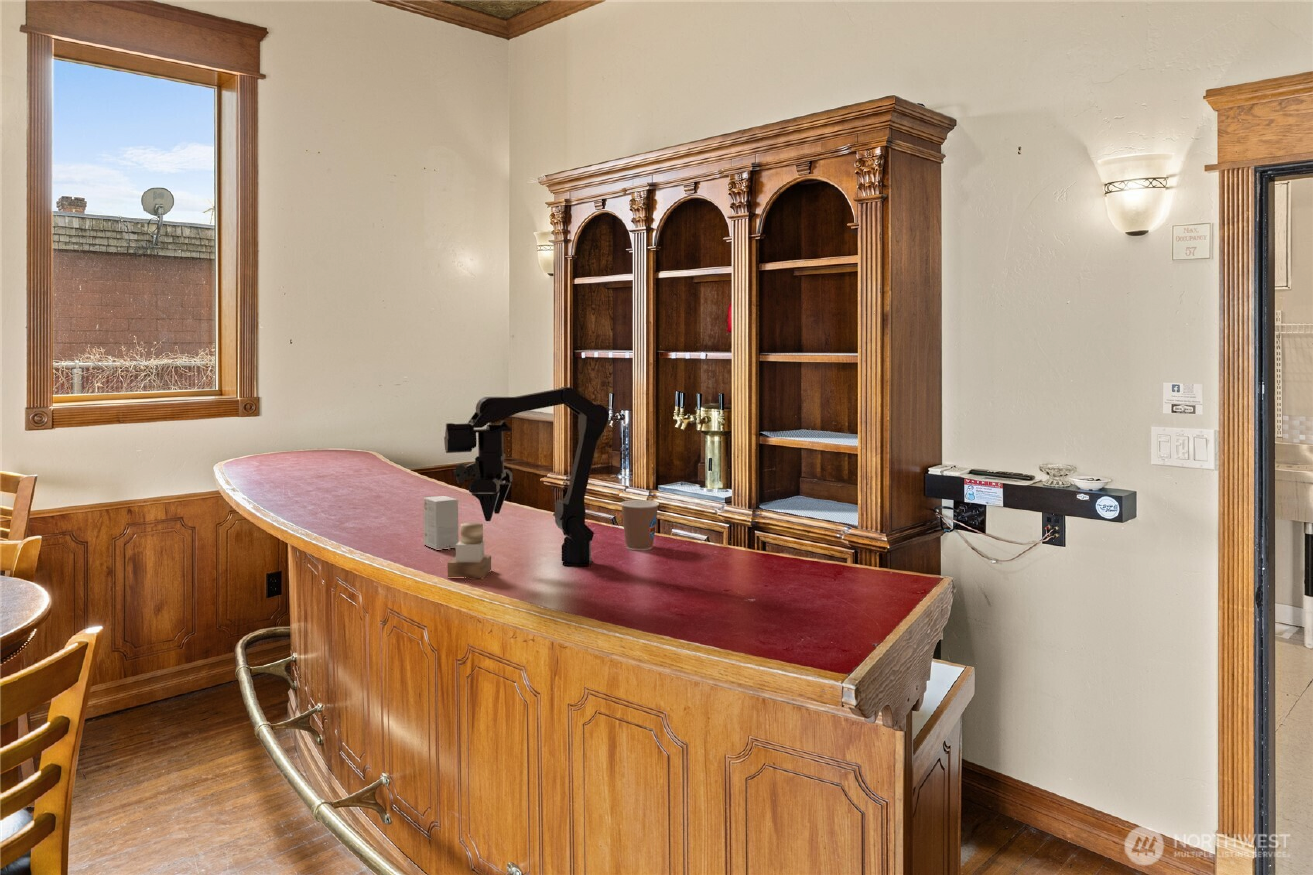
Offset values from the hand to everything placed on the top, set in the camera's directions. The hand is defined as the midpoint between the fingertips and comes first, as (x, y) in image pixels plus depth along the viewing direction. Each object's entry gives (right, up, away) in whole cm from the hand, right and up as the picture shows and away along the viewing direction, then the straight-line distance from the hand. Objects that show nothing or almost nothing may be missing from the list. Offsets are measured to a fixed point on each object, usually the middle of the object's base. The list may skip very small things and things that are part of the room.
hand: (492, 517), depth 195 cm
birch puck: (-4, -5, -4) cm, 8 cm away
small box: (-18, -10, +24) cm, 32 cm away
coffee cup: (+34, -11, +27) cm, 45 cm away
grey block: (-4, -9, -4) cm, 11 cm away
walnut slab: (-5, -13, -3) cm, 14 cm away
